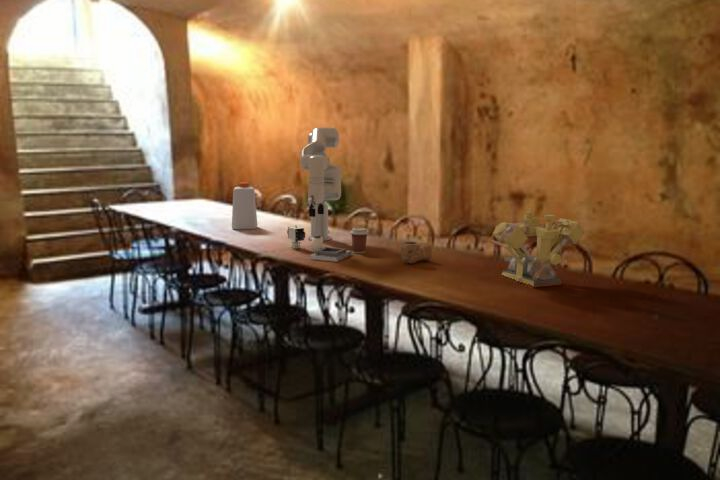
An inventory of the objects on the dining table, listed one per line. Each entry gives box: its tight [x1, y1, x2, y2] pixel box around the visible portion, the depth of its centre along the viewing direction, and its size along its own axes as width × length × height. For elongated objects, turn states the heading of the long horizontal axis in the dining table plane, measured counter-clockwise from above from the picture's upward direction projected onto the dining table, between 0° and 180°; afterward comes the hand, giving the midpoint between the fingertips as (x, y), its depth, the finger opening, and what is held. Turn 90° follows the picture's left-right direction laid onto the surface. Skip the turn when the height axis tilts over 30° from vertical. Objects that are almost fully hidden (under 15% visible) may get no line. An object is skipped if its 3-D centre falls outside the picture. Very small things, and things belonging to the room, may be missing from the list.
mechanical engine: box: [488, 207, 586, 286], centre depth 252 cm, size 39×37×30 cm
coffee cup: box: [349, 227, 369, 254], centre depth 309 cm, size 9×9×12 cm
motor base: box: [309, 246, 352, 263], centre depth 297 cm, size 18×14×4 cm
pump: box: [311, 235, 324, 253], centre depth 310 cm, size 6×6×8 cm
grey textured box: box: [400, 240, 433, 265], centre depth 286 cm, size 9×16×10 cm, turn 132°
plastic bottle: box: [231, 181, 258, 231], centre depth 376 cm, size 15×15×28 cm
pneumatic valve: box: [286, 224, 306, 250], centre depth 317 cm, size 6×12×12 cm, turn 33°
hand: (316, 215), depth 307 cm, fingers open, 9 cm apart
